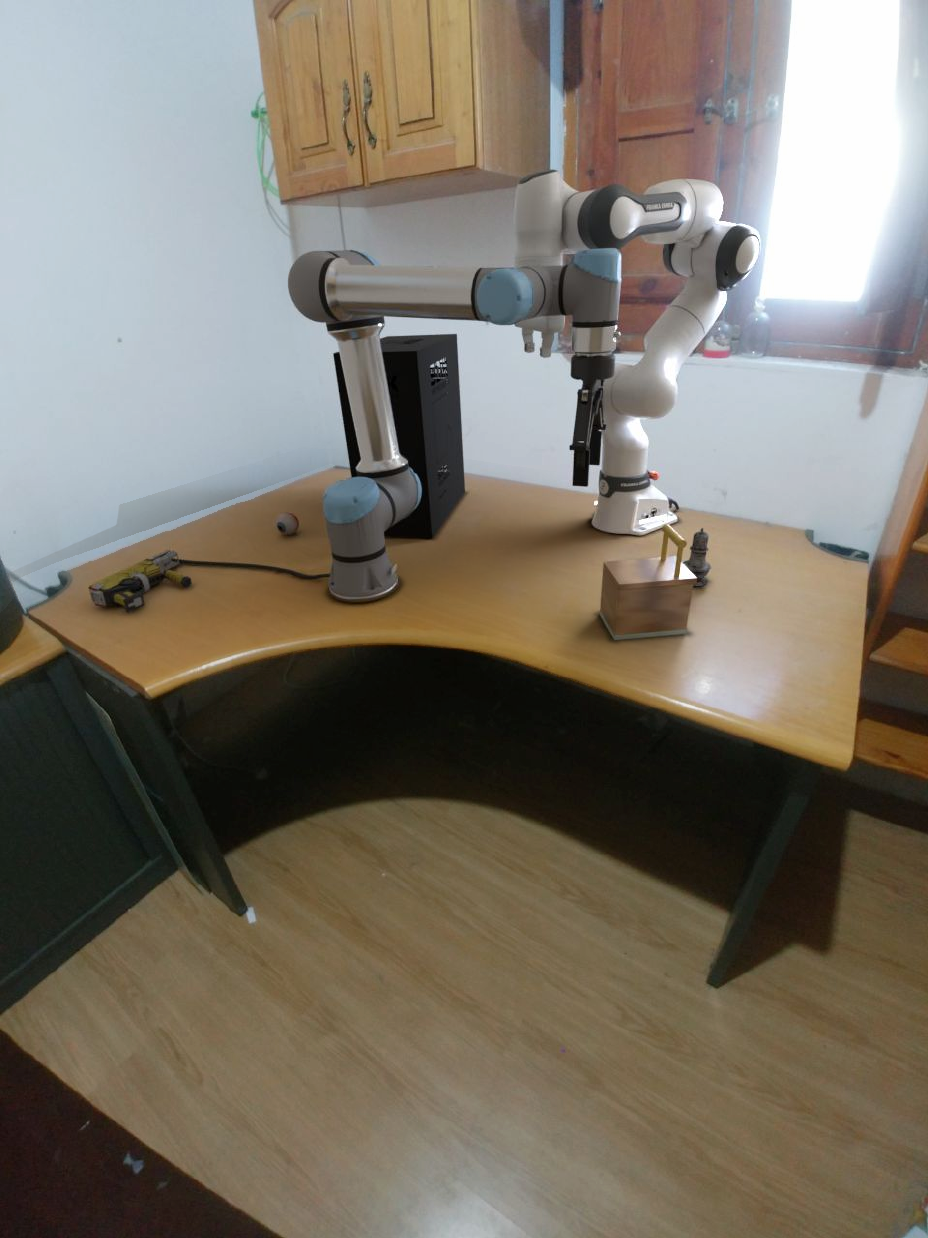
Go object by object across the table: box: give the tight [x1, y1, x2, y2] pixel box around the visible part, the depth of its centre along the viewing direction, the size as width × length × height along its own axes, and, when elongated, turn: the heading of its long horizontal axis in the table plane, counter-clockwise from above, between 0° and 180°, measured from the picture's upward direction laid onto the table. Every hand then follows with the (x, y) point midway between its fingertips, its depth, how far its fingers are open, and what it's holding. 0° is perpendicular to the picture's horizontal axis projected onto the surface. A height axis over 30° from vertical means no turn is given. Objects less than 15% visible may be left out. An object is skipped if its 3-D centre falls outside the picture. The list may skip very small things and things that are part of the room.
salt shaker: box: [682, 527, 712, 587], centre depth 126 cm, size 6×6×12 cm
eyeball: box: [275, 511, 300, 536], centre depth 163 cm, size 6×6×6 cm
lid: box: [602, 524, 697, 590], centre depth 108 cm, size 14×10×8 cm
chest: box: [599, 566, 694, 641], centre depth 113 cm, size 14×10×10 cm
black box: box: [332, 333, 466, 539], centre depth 164 cm, size 38×20×45 cm, turn 167°
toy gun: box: [87, 549, 193, 614], centre depth 138 cm, size 5×24×15 cm
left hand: (586, 474), depth 114 cm, fingers open, 13 cm apart
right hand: (537, 354), depth 121 cm, fingers open, 8 cm apart
